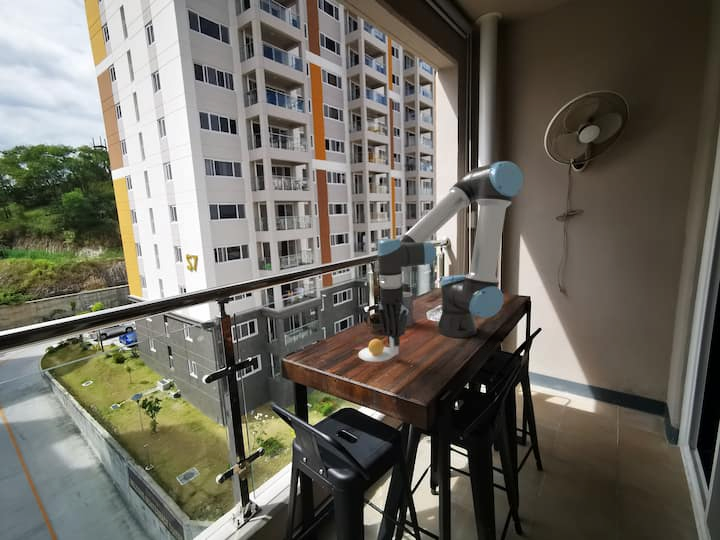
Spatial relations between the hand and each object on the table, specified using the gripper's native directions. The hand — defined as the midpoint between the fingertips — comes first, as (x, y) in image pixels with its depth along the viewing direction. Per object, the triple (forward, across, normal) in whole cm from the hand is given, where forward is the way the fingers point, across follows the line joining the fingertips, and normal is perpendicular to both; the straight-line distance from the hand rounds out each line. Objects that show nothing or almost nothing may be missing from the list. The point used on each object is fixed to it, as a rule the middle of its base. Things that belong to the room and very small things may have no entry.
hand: (394, 354), depth 111 cm
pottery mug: (+2, -25, +20) cm, 32 cm away
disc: (+2, -8, 0) cm, 8 cm away
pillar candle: (+2, -19, +32) cm, 37 cm away
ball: (-1, -8, 0) cm, 8 cm away
